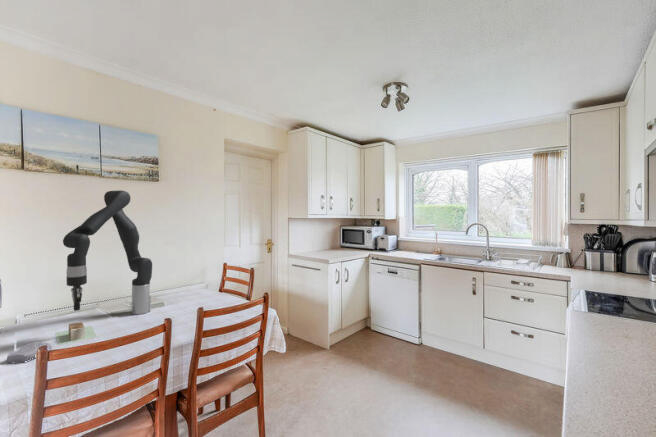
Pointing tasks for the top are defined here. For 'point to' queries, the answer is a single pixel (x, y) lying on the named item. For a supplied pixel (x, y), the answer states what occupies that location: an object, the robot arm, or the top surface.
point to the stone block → (26, 352)
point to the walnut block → (76, 331)
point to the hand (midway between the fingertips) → (76, 310)
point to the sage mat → (64, 338)
